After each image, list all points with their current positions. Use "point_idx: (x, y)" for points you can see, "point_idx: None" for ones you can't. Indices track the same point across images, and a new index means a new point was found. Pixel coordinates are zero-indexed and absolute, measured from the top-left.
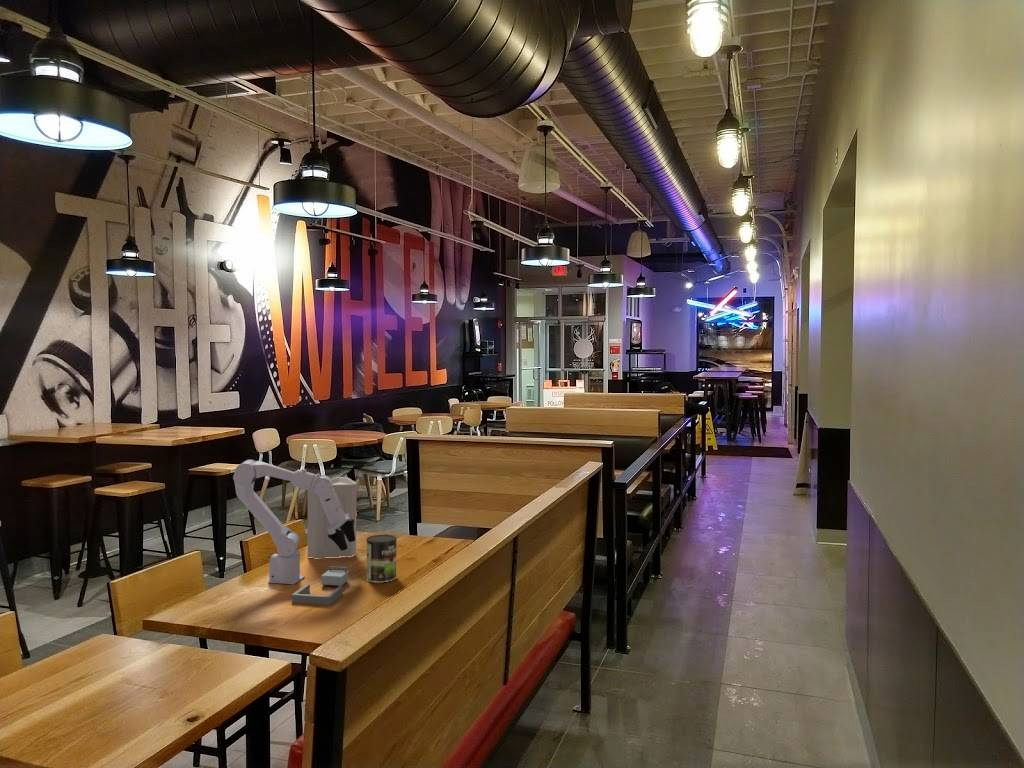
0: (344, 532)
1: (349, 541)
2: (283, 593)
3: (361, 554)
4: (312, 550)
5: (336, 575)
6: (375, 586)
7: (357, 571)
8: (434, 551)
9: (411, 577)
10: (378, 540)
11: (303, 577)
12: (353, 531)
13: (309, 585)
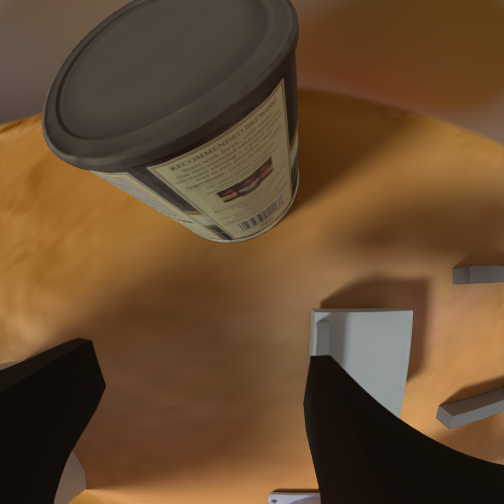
0: (58, 466)
1: (101, 390)
2: None
3: (15, 344)
4: (70, 490)
5: (396, 347)
6: (338, 167)
7: (150, 317)
8: (8, 151)
9: None
10: (218, 28)
11: (282, 493)
12: (19, 372)
13: (453, 414)
